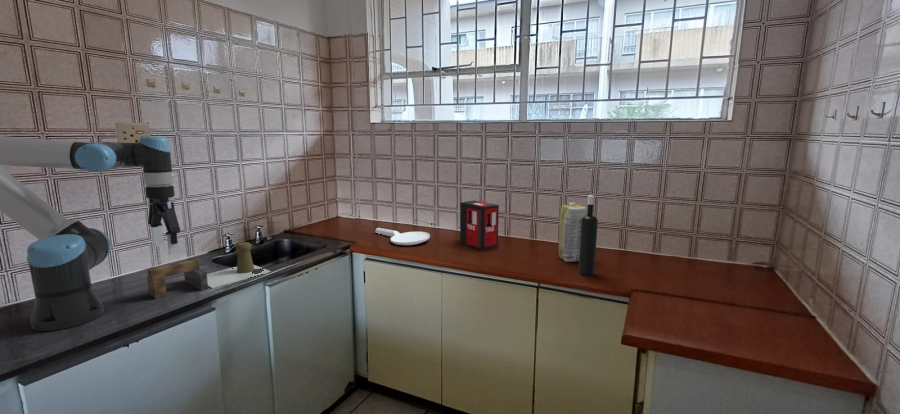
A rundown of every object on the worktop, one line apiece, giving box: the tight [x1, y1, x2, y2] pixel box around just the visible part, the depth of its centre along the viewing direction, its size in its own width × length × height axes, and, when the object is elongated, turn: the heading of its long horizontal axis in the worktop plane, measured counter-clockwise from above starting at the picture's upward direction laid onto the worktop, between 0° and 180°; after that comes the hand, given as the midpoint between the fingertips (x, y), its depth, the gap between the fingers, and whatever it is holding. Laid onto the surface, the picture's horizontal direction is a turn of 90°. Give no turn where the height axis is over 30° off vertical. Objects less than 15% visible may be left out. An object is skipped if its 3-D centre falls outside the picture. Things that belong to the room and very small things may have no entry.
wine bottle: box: [578, 194, 599, 277], centre depth 152 cm, size 6×6×30 cm
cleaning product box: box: [459, 200, 499, 252], centre depth 191 cm, size 16×9×20 cm, turn 38°
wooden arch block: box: [146, 258, 209, 300], centre depth 137 cm, size 14×14×9 cm
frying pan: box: [375, 227, 431, 246], centre depth 204 cm, size 35×19×5 cm, turn 48°
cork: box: [235, 241, 254, 273], centre depth 155 cm, size 6×6×11 cm
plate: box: [207, 264, 272, 290], centre depth 152 cm, size 21×16×1 cm
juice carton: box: [558, 202, 587, 263], centre depth 169 cm, size 9×8×24 cm
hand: (166, 249), depth 134 cm, fingers open, 13 cm apart
